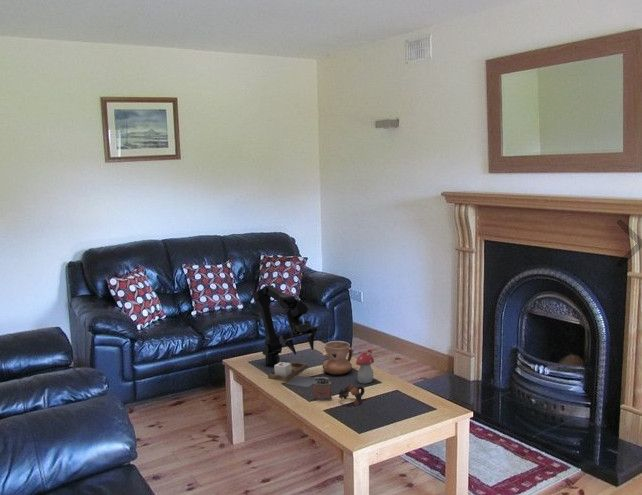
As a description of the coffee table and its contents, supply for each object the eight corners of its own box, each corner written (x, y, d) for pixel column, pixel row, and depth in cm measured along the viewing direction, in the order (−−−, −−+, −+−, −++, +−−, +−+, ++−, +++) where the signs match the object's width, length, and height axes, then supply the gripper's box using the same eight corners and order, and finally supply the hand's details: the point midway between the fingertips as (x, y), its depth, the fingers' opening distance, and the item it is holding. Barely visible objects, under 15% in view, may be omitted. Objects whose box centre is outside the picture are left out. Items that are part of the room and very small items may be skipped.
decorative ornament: (372, 377, 289) (371, 347, 287) (377, 382, 282) (376, 351, 280) (353, 380, 286) (353, 350, 284) (358, 385, 280) (358, 354, 278)
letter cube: (274, 377, 292) (274, 365, 291) (281, 373, 297) (280, 361, 296) (285, 379, 289) (285, 366, 288) (291, 375, 294) (291, 363, 294)
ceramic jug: (331, 379, 288) (331, 351, 286) (314, 371, 300) (314, 343, 298) (361, 372, 298) (361, 344, 296) (344, 364, 309) (344, 337, 307)
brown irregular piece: (351, 409, 254) (342, 392, 255) (341, 412, 262) (332, 394, 263) (372, 396, 260) (363, 378, 261) (362, 398, 268) (353, 382, 269)
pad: (285, 384, 283) (285, 383, 283) (298, 376, 294) (297, 375, 294) (308, 388, 278) (308, 387, 278) (319, 379, 288) (319, 378, 288)
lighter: (332, 397, 266) (331, 375, 264) (331, 400, 262) (330, 378, 261) (314, 397, 267) (313, 375, 265) (313, 400, 263) (312, 378, 262)
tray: (268, 379, 291) (268, 374, 290) (289, 366, 309) (289, 361, 308) (287, 382, 286) (287, 377, 286) (307, 368, 304) (307, 364, 304)
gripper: (282, 320, 278) (292, 352, 274) (317, 311, 287) (328, 343, 282) (274, 327, 287) (284, 358, 283) (308, 318, 296) (318, 349, 292)
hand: (304, 352), depth 285 cm, fingers open, 9 cm apart
